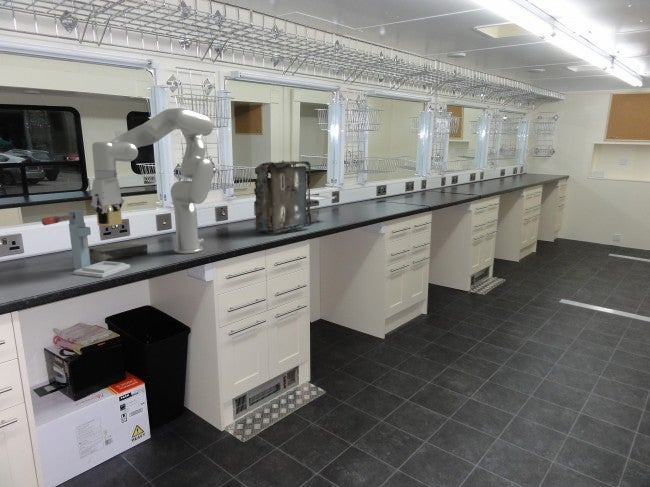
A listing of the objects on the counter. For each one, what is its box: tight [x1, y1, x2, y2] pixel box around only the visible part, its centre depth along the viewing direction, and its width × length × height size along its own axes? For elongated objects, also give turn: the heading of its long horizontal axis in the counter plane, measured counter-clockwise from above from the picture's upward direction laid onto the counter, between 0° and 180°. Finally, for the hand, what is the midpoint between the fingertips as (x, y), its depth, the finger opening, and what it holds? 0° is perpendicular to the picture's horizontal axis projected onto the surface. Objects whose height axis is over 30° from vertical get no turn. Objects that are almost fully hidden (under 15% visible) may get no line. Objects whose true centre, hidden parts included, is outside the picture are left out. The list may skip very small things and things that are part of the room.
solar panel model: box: [306, 193, 336, 223], centre depth 279 cm, size 28×17×15 cm, turn 53°
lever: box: [41, 213, 76, 226], centre depth 168 cm, size 15×3×3 cm, turn 161°
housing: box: [96, 207, 123, 227], centre depth 174 cm, size 6×6×6 cm
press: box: [67, 209, 131, 278], centre depth 173 cm, size 14×19×23 cm
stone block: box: [88, 241, 148, 262], centre depth 197 cm, size 14×20×5 cm
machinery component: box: [253, 160, 312, 235], centre depth 245 cm, size 33×18×38 cm, turn 133°
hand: (109, 222), depth 174 cm, fingers closed on housing, 6 cm apart
